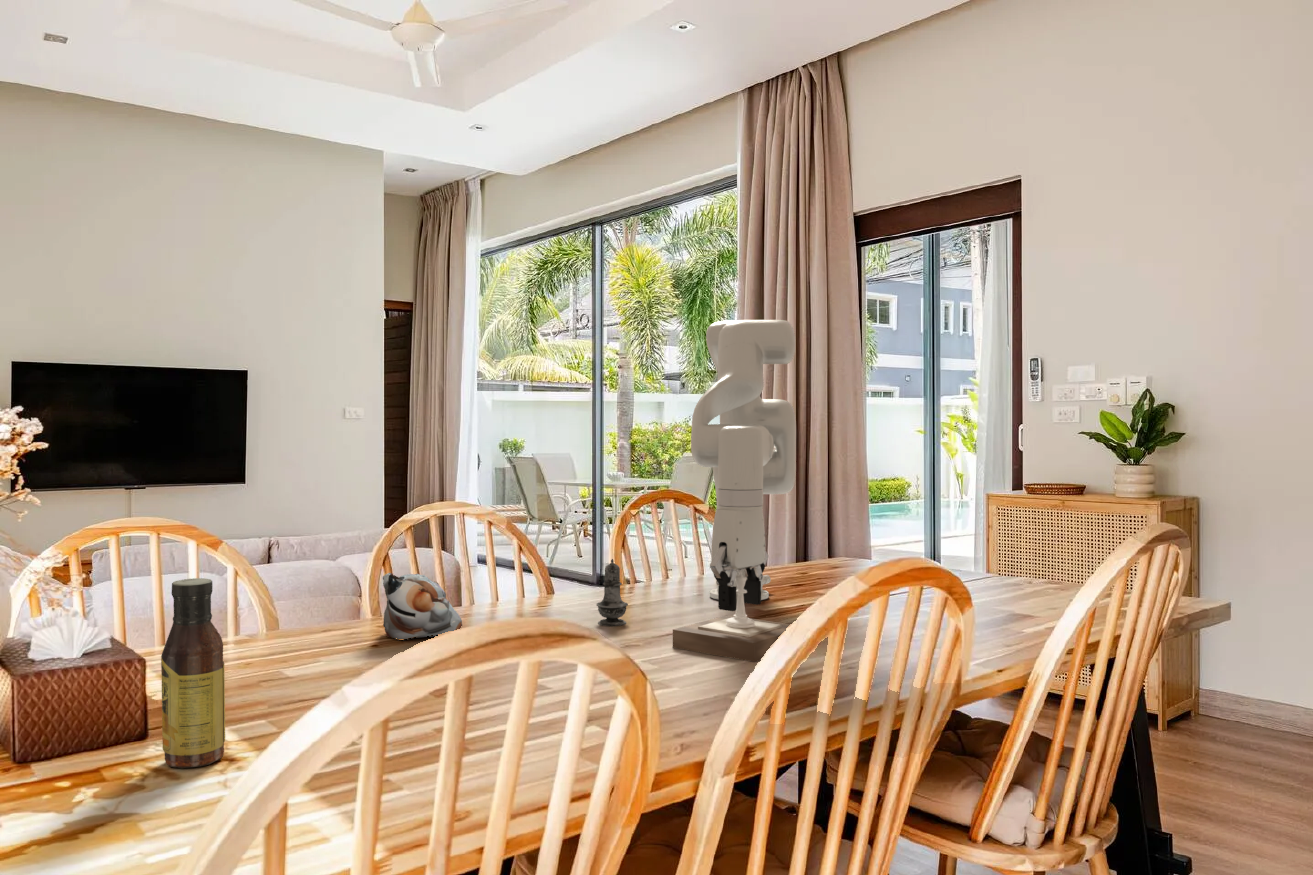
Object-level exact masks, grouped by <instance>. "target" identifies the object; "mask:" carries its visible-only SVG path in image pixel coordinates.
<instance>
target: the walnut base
mask: <svg viewBox="0 0 1313 875" xmlns="http://www.w3.org/2000/svg"><path fill="white" fill-rule="evenodd" d="M733 617H735V616H734V615H729V614H728V615H727V614H726V615H722V616H719V617H714V618H711V619H707V620H703V621H700V622H696V623H693V624H688V625H685V626H681V627H678V628H677V627H676V628H674V629H672V649H678V650H679V649H680V650H684V651H690V652H695V653H701V654H706V655H712V656H717V657H718V656H719V657H722V658H723V657H725V658H729V659H735V660H741V661H746V662H752V663H755V662H759V661H761V660H760V659H761V658H762V657H763V656H764V654H765V653H766V651H767V650H768V649H769V648H770V646H771V645H772V644H773V643H774V642H775V641H776V640H777V639H778V637H779V636H780V635H781V634H782V633H783V632H784V631H786V628H787V627H788V626H789V625H790V624H791V623H784V622H779V621H776V622H775V621H770V620H762V619H757V618H752V619H753V620H754V621H755V623H754V624H755V626H754V627H750V628H733V627H728V626H726V620H727V619H730V618H733Z"/></svg>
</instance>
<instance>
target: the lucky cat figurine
mask: <svg viewBox="0 0 1313 875" xmlns="http://www.w3.org/2000/svg"><path fill="white" fill-rule="evenodd" d="M382 580H383V583H382V584H383V585H382V586H383V588H384V594H385V596H386V607H385V610H384V614H383V625H382V626H383V627H384V632H385V635H386V637H387V636H388V637H387V638H390V637H392V638H391V639H393V638H397V639H407V640H409V639H408V638H411V639H414V638H413V637H416V638H427V636H429V637H437V636H436V635H438V634H442V633H445V632H448V631H454V630H457V629H460V628H462V627H463V620H462V618H461V616H460V614H459V613H458V612H457V611H456V610H455V608H454V607H453V606H452V604H451V603H450V600H448V599H447V593H446V592H445V590H444V589H443V588H442V587H441V586H440V583H438V582H437V581H432V580H431V579H430V578H428V576H426V575H425V574H419V573H416V574H415V573H409V574H404V575H401V576H397V575H396V574H393V573H391V572H388V573H386V574H384V575H383V576H382ZM461 626H462V627H461ZM460 630H461V629H460ZM431 635H433V636H431Z"/></svg>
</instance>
